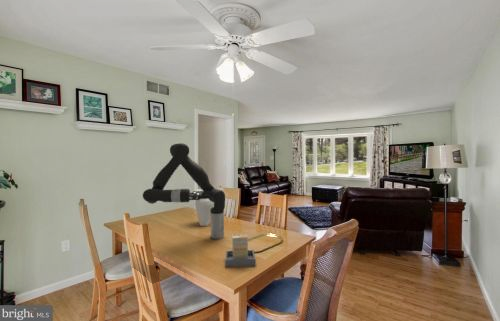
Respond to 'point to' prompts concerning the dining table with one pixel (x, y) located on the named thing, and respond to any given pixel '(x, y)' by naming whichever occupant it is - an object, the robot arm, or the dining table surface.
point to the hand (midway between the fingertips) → (209, 195)
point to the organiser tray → (240, 262)
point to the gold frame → (266, 235)
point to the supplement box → (240, 246)
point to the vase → (203, 210)
